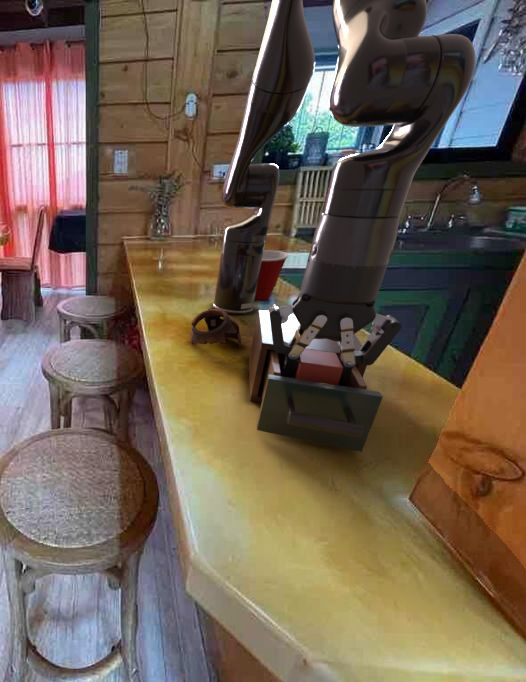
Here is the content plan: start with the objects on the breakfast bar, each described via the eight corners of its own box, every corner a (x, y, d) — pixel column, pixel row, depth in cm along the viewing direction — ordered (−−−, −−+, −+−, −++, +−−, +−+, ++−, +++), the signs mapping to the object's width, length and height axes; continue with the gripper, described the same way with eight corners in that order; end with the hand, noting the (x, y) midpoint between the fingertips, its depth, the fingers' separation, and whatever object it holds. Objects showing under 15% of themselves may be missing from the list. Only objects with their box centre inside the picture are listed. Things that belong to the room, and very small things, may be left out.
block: (289, 376, 53) (296, 347, 51) (326, 382, 51) (335, 352, 49) (293, 392, 49) (301, 362, 47) (333, 399, 47) (343, 368, 45)
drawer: (373, 479, 41) (397, 421, 38) (258, 453, 46) (270, 398, 42) (338, 394, 57) (353, 348, 53) (254, 381, 61) (263, 336, 58)
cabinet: (348, 418, 53) (370, 357, 49) (249, 400, 58) (261, 342, 54) (329, 370, 65) (344, 318, 61) (249, 359, 70) (258, 309, 66)
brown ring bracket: (251, 356, 72) (240, 325, 68) (202, 371, 75) (189, 343, 71) (234, 319, 81) (223, 290, 77) (191, 334, 85) (179, 307, 80)
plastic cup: (230, 291, 108) (236, 249, 103) (268, 290, 108) (276, 248, 103) (244, 303, 98) (253, 258, 93) (286, 303, 98) (297, 257, 93)
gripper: (413, 253, 43) (367, 381, 50) (275, 247, 48) (251, 363, 55) (442, 268, 37) (385, 411, 44) (279, 259, 42) (252, 389, 49)
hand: (311, 384), depth 50 cm, fingers closed on block, 4 cm apart
